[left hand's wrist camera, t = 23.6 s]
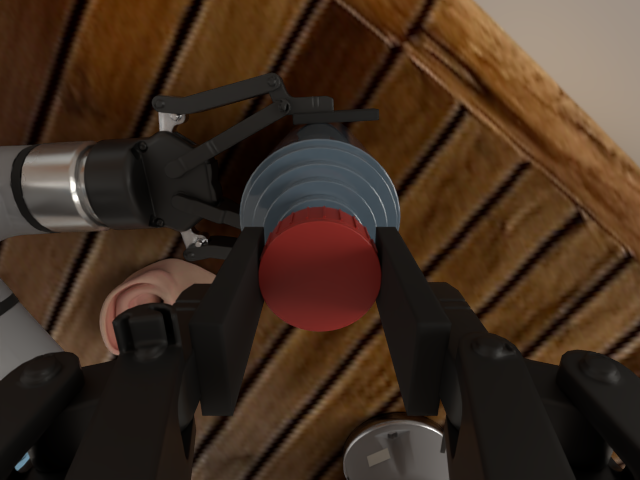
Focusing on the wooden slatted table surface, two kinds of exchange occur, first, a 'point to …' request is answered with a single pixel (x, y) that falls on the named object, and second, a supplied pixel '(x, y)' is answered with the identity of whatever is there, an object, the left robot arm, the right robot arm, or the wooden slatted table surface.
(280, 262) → the cap
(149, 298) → the anatomical model
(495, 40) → the wooden slatted table surface
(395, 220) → the bottle
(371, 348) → the wooden slatted table surface
